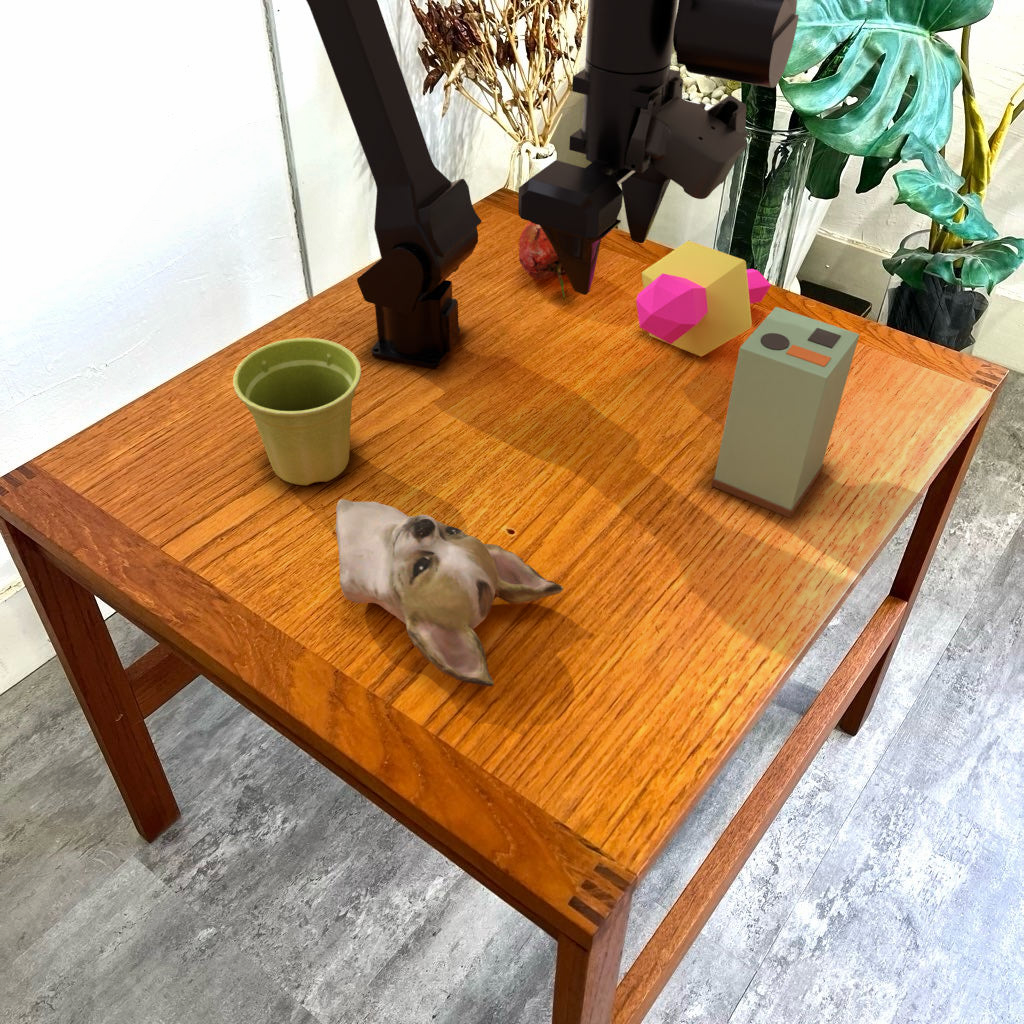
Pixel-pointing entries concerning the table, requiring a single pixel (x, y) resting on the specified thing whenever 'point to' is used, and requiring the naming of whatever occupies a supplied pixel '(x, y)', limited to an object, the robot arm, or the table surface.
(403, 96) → the robot arm
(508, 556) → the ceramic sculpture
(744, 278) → the toy
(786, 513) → the shape sorter
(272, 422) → the plant pot
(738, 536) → the table surface
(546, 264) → the pomegranate
